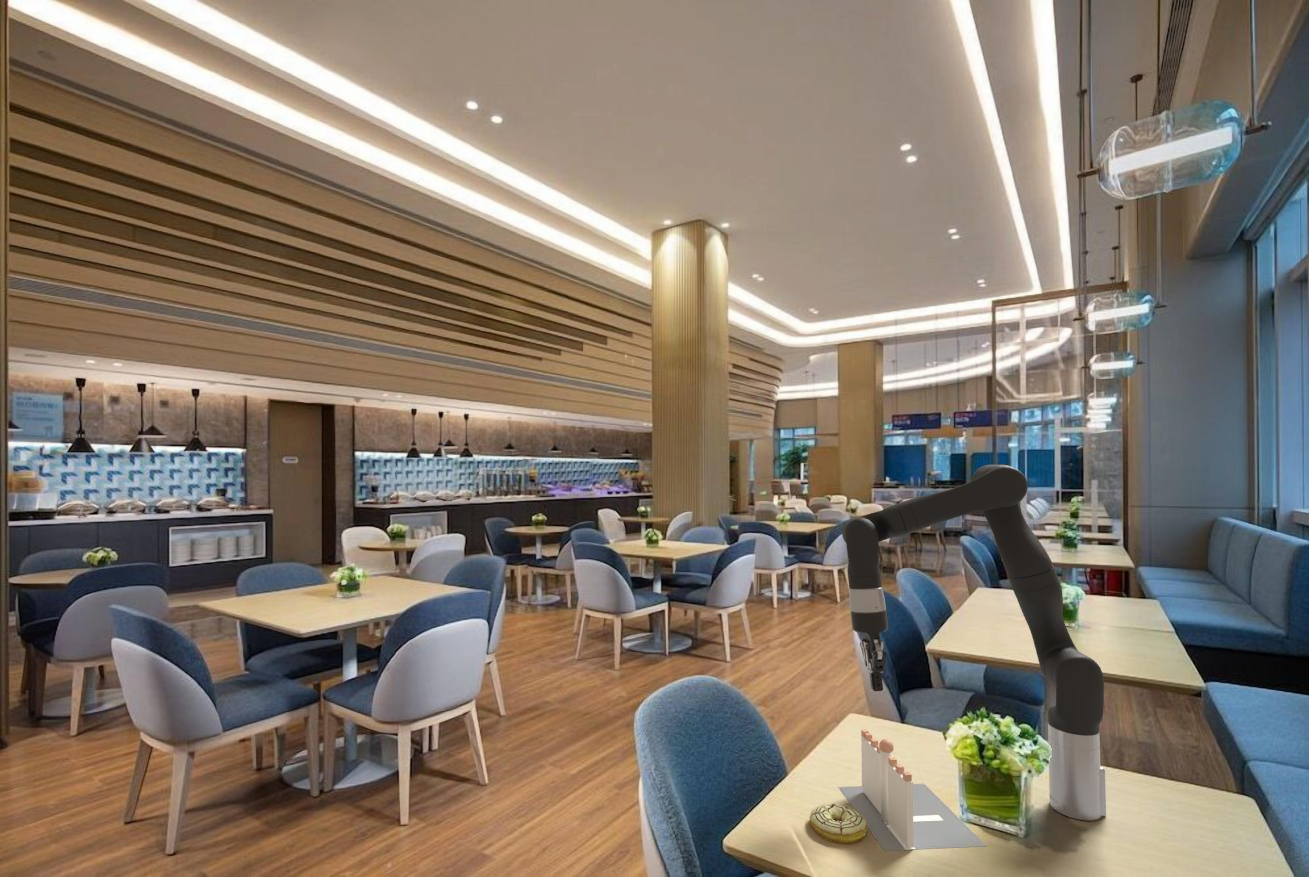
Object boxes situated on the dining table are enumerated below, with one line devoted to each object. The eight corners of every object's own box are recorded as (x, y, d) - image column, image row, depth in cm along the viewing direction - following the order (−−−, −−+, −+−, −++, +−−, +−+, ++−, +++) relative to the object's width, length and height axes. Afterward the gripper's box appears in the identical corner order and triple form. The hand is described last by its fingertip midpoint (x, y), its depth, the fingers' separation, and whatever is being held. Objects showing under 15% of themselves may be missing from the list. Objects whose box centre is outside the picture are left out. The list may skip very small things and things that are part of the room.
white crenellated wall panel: (886, 813, 133) (885, 748, 134) (880, 813, 133) (879, 748, 134) (867, 789, 143) (866, 729, 144) (861, 790, 143) (861, 729, 143)
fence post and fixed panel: (890, 816, 133) (889, 736, 134) (917, 848, 122) (916, 761, 122) (877, 816, 133) (876, 736, 134) (903, 849, 122) (902, 761, 122)
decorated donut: (833, 812, 136) (833, 794, 136) (877, 836, 127) (877, 816, 128) (799, 828, 130) (799, 809, 130) (843, 854, 121) (843, 834, 121)
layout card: (924, 786, 147) (924, 783, 147) (986, 848, 123) (986, 845, 123) (838, 789, 145) (838, 786, 145) (884, 853, 121) (884, 850, 121)
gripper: (894, 611, 136) (904, 697, 134) (877, 603, 149) (886, 682, 147) (857, 613, 137) (867, 699, 134) (844, 606, 150) (852, 683, 147)
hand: (877, 689), depth 141 cm, fingers closed
